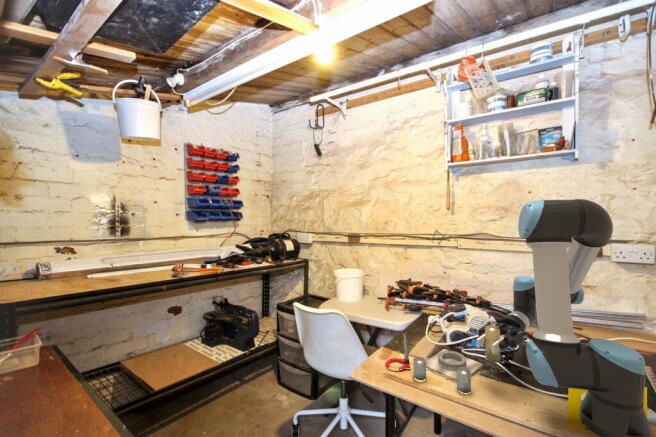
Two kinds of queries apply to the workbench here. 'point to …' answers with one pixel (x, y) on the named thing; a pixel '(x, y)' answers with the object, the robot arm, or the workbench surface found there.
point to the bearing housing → (451, 364)
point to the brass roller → (491, 337)
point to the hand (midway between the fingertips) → (485, 346)
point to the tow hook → (405, 360)
